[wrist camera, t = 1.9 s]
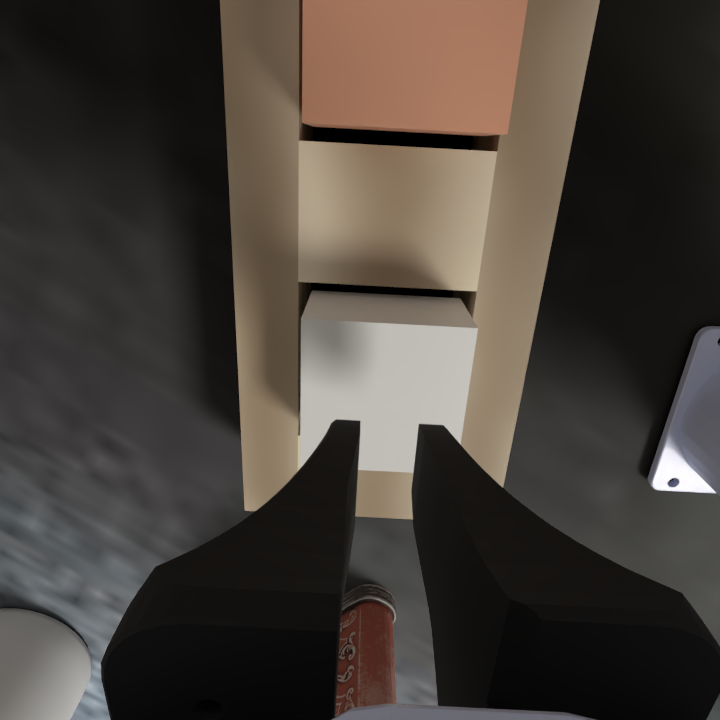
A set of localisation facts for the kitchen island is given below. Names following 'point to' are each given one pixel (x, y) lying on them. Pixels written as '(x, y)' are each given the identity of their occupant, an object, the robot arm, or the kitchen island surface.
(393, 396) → the grey button
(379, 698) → the lighter
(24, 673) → the milk bottle
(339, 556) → the robot arm
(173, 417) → the kitchen island surface
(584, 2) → the button panel
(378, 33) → the terracotta button
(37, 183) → the kitchen island surface
